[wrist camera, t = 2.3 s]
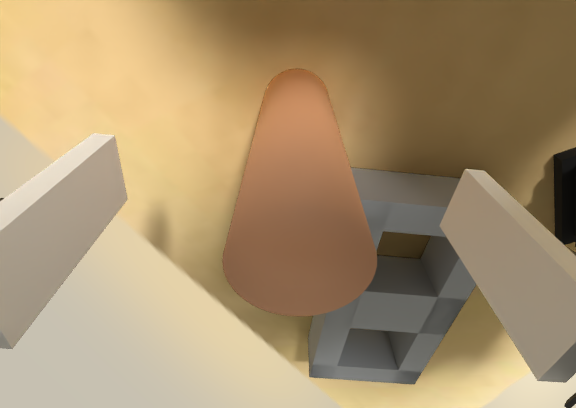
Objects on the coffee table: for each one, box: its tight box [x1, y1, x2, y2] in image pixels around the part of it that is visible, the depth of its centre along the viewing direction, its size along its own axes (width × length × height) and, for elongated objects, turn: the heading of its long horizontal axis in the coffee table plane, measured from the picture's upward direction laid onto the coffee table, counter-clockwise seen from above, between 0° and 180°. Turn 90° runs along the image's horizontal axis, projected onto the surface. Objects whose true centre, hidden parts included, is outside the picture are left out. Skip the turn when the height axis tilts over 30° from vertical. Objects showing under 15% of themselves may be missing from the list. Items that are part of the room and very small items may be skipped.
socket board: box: [308, 168, 476, 384], centre depth 27 cm, size 20×10×4 cm, turn 174°
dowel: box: [222, 69, 377, 316], centre depth 14 cm, size 4×4×14 cm
